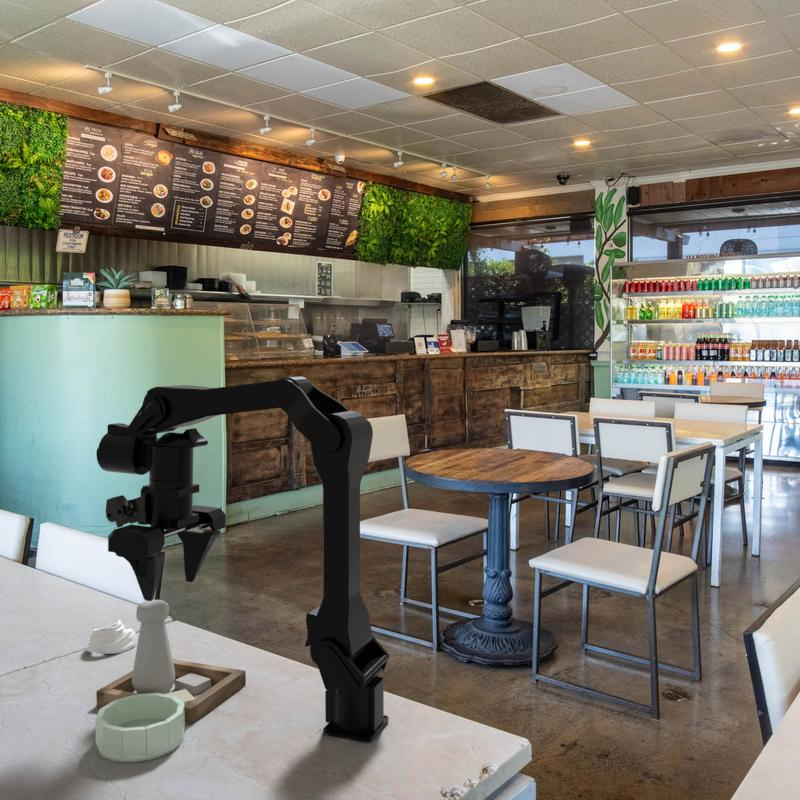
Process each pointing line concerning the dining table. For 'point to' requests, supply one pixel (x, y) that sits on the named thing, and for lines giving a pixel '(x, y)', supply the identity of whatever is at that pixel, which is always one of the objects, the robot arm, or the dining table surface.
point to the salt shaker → (153, 650)
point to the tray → (221, 676)
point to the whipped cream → (112, 639)
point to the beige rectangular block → (182, 695)
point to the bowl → (140, 727)
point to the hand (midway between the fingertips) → (169, 590)
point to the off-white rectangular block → (193, 683)
